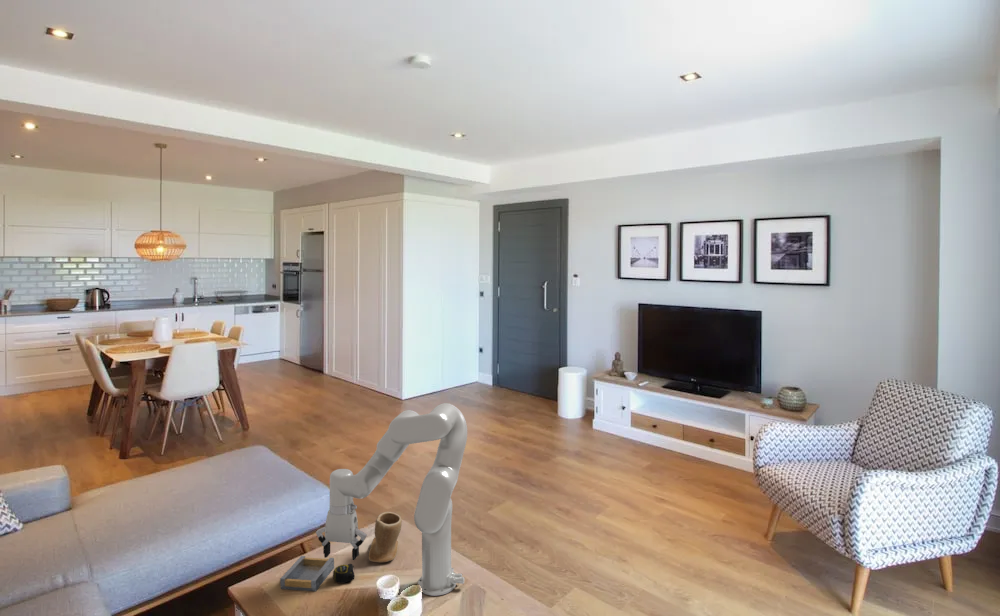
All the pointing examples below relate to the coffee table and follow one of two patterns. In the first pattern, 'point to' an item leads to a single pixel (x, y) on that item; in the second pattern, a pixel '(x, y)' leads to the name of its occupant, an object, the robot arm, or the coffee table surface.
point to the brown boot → (385, 537)
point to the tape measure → (343, 573)
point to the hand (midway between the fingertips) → (341, 556)
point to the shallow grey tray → (307, 574)
